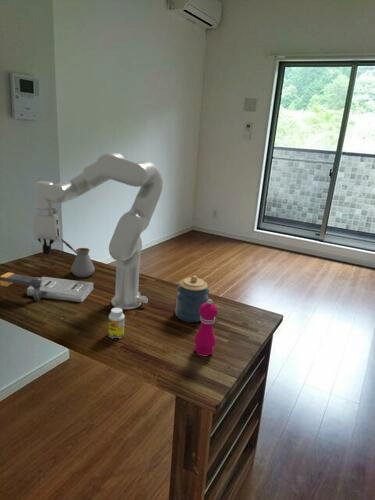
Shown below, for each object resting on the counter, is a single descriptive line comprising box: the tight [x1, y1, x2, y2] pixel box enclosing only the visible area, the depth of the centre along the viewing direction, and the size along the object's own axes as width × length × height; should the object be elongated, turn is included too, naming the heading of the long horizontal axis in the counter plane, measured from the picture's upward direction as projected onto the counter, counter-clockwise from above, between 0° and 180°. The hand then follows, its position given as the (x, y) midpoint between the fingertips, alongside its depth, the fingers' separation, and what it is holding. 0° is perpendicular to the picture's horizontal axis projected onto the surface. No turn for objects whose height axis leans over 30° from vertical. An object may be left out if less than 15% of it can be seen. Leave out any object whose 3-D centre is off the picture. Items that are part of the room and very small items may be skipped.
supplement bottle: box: [107, 307, 125, 339], centre depth 133 cm, size 6×6×10 cm
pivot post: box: [33, 287, 41, 302], centre depth 154 cm, size 2×2×6 cm
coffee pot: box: [59, 238, 96, 278], centre depth 185 cm, size 21×12×15 cm, turn 58°
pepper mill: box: [194, 298, 218, 355], centre depth 126 cm, size 7×7×20 cm
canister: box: [174, 275, 210, 323], centre depth 151 cm, size 13×13×18 cm
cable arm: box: [0, 272, 42, 288], centre depth 154 cm, size 17×5×4 cm, turn 78°
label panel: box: [26, 276, 94, 303], centre depth 163 cm, size 24×14×3 cm, turn 84°
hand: (47, 253), depth 159 cm, fingers closed
